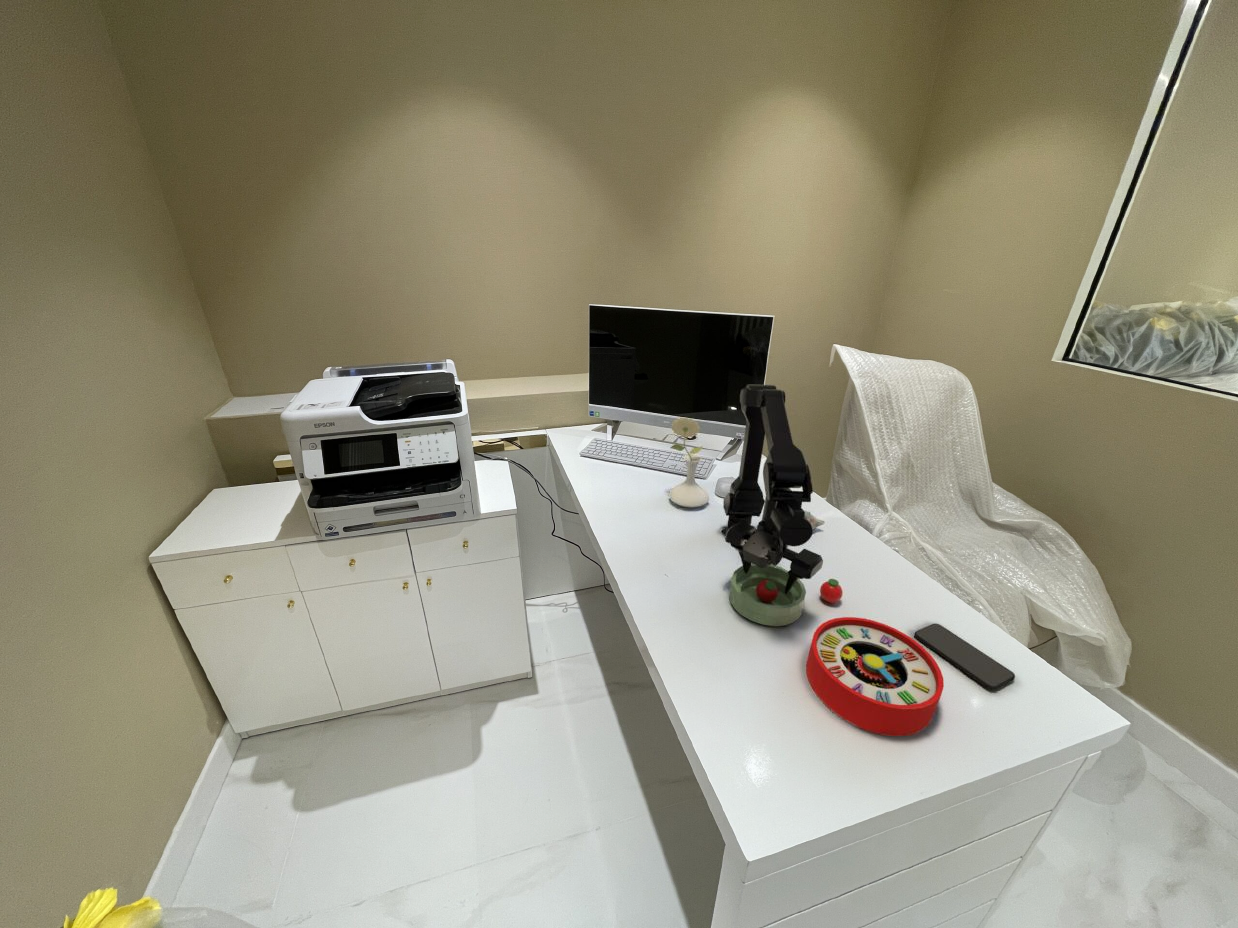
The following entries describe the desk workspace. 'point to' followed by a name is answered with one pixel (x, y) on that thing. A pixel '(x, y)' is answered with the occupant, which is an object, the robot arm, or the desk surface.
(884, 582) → the desk surface
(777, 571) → the bowl
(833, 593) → the red toy tomato
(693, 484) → the flower in vase
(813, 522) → the packaged food
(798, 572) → the robot arm
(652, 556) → the desk surface
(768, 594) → the red round piece
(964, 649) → the smartphone
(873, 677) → the toy clock
